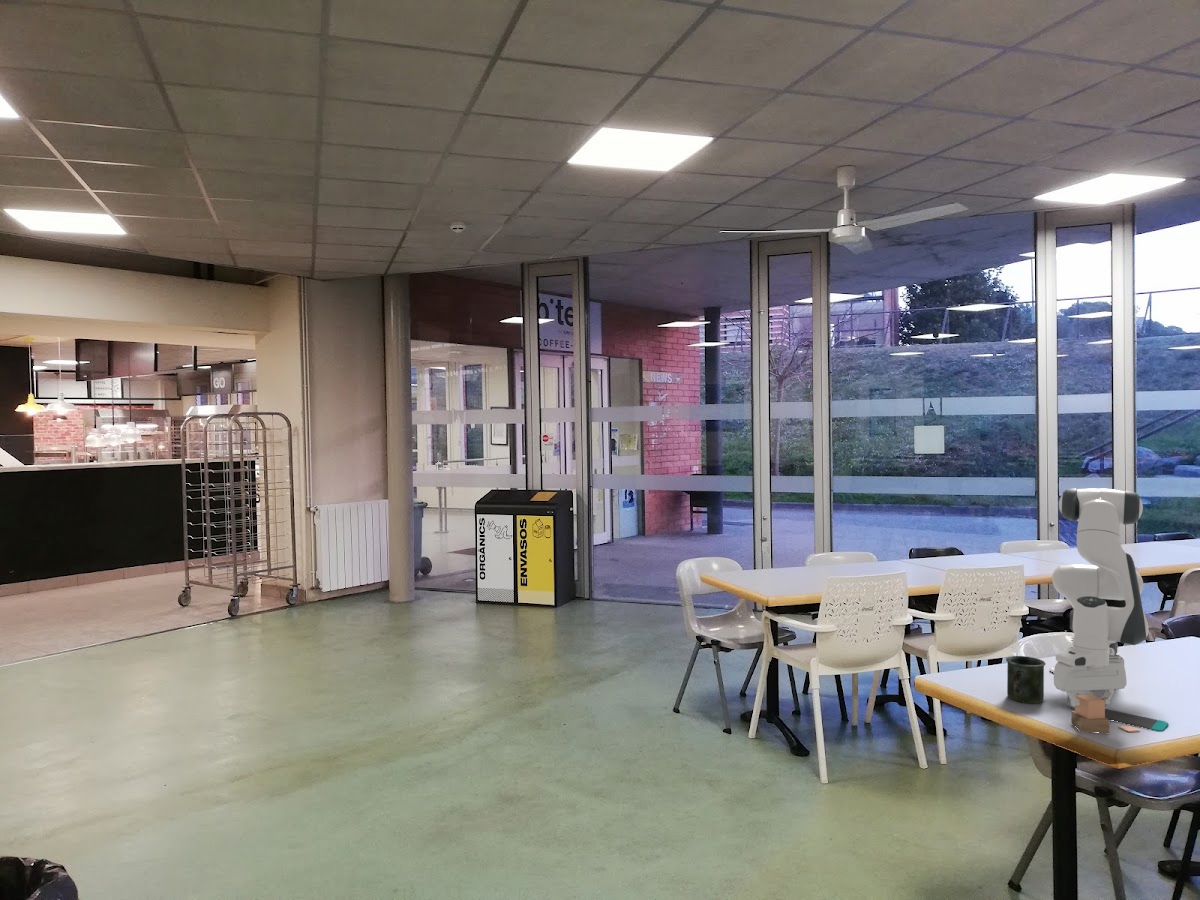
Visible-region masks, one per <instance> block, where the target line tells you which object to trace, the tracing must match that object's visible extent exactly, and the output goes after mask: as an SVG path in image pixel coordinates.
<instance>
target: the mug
mask: <svg viewBox="0 0 1200 900" xmlns="http://www.w3.org/2000/svg"><path fill="white" fill-rule="evenodd" d="M1005 661H1006V663H1007V669H1006V670H1007V681H1006V682H1007V683H1006V684H1007V685H1006V686H1007V687H1006V688H1007V692H1006V693H1007V696H1008V699H1010V700H1013V701H1015V702H1020V703H1025V704H1040V703H1042V702H1043V701H1044V696H1045V695H1044V692H1045V691H1044V690H1045V689H1044V688H1045V685H1044V684H1045V683H1044V682H1045V681H1044V680H1045V673H1044V672H1045V666H1046V662H1045V661H1044V660H1042V659H1040V658H1036V657H1031V656H1023V655H1014V656H1013V655H1010V656H1007V657H1006V658H1005Z"/></svg>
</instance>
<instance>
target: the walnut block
mask: <svg viewBox="0 0 1200 900" xmlns="http://www.w3.org/2000/svg"><path fill="white" fill-rule="evenodd" d="M1070 713H1071V715H1070V717H1071V719H1070V720H1071V722H1070V724H1071V723H1072V724H1073V725H1072V726H1073V727H1075V726H1076V727H1077V728H1078V729H1079V730H1080V731H1079V730H1078V729H1077V728H1076V727H1075V728H1076V729H1077V730H1078V731H1079V732H1081V731H1082V732H1099V733H1109V734H1110V721H1109V720H1108V719H1107V718H1095V719H1088V718H1085V717H1083V716H1081V715H1079V714H1077V713H1075V710H1071V712H1070ZM1082 732H1081V733H1082ZM1099 733H1098V734H1099Z"/></svg>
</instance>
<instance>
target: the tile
mask: <svg viewBox="0 0 1200 900" xmlns="http://www.w3.org/2000/svg"><path fill="white" fill-rule="evenodd" d="M1118 727H1119V728H1118ZM1118 727H1117V728H1118V729H1120V728H1121V729H1120V730H1122V729H1123V731H1124V730H1125V732H1126V731H1128V732H1127V733H1139V731H1140V732H1141V730H1140V729H1138V728H1136V727H1134V726H1132V725H1120V726H1118Z"/></svg>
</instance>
